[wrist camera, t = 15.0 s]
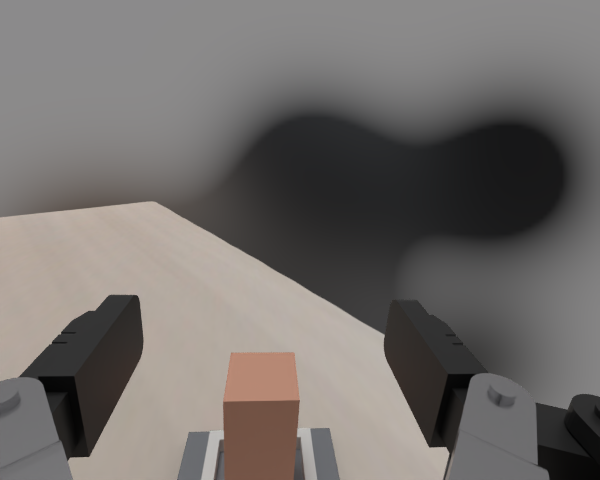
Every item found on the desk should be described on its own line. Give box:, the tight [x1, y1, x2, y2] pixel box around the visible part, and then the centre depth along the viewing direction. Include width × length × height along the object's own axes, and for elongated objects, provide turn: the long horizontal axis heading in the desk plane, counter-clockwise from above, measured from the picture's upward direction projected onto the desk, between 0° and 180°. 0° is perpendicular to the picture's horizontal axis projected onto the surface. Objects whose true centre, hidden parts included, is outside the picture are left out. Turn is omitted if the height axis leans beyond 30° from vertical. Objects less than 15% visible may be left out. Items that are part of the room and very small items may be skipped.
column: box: [223, 353, 300, 480], centre depth 27 cm, size 5×5×12 cm
